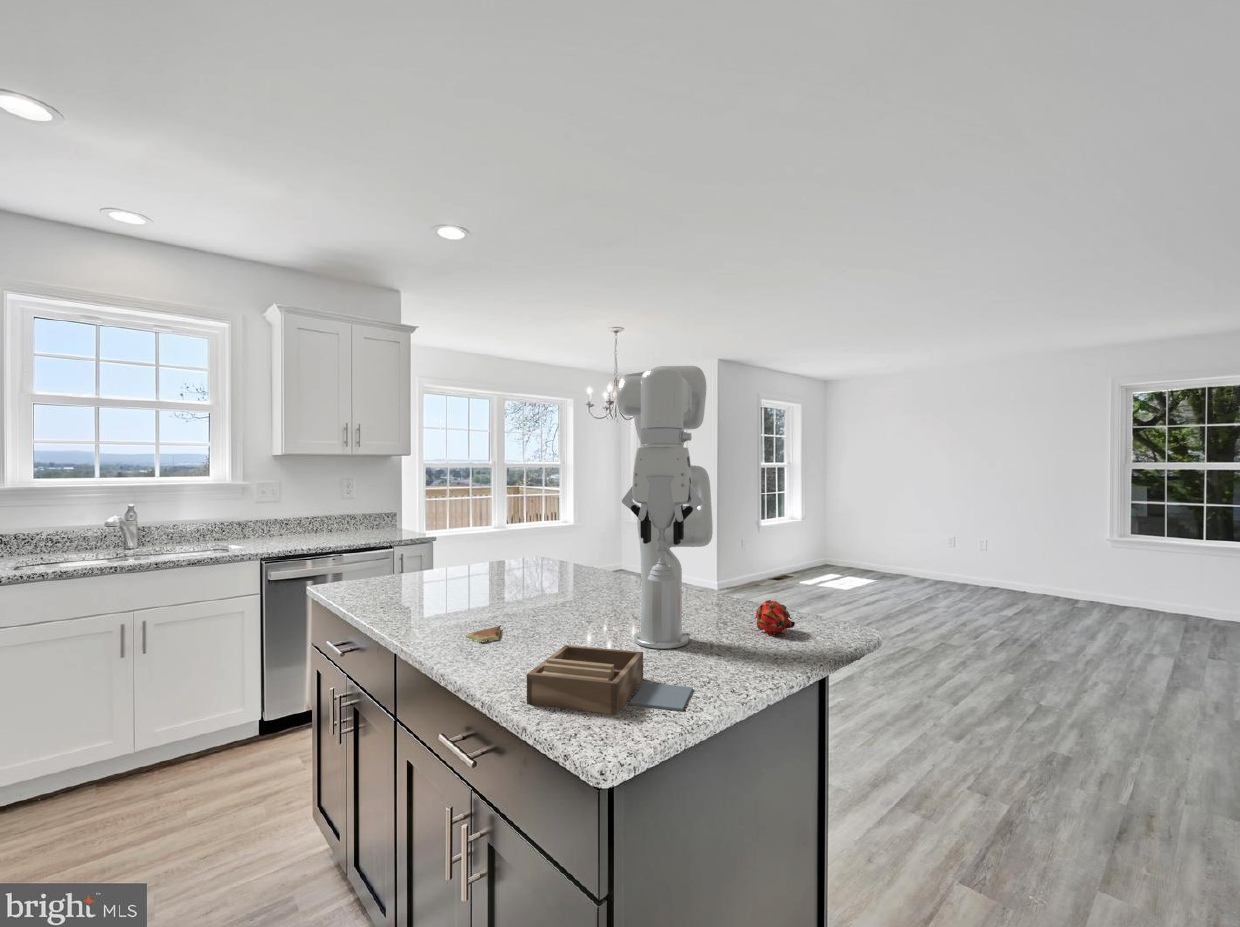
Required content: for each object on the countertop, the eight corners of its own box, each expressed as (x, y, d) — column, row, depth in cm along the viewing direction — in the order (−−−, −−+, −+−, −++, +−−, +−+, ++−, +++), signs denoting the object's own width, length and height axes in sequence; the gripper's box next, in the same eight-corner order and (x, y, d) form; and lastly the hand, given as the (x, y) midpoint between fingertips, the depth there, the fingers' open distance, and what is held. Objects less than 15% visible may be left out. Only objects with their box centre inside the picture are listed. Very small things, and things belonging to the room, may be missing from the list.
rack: (565, 670, 116) (565, 645, 116) (643, 678, 111) (643, 652, 111) (526, 703, 99) (526, 674, 99) (616, 714, 94) (616, 683, 94)
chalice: (635, 576, 104) (635, 476, 104) (669, 574, 107) (669, 476, 107) (653, 583, 97) (653, 476, 98) (689, 580, 100) (689, 476, 100)
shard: (500, 631, 146) (500, 623, 146) (520, 636, 141) (520, 629, 141) (464, 640, 138) (464, 632, 138) (483, 646, 133) (483, 638, 133)
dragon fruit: (767, 632, 150) (784, 653, 138) (742, 613, 148) (756, 633, 137) (787, 606, 149) (806, 625, 137) (762, 587, 148) (778, 605, 136)
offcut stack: (549, 695, 103) (549, 658, 103) (614, 702, 100) (614, 664, 100) (541, 702, 100) (541, 664, 100) (607, 710, 96) (607, 671, 96)
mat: (644, 684, 108) (644, 682, 108) (692, 689, 105) (692, 687, 105) (630, 704, 98) (630, 702, 98) (682, 711, 96) (682, 708, 96)
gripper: (712, 440, 104) (713, 542, 103) (621, 441, 109) (621, 539, 108) (706, 438, 97) (707, 547, 96) (609, 439, 101) (609, 544, 101)
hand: (662, 542), depth 102 cm, fingers closed on chalice, 4 cm apart
